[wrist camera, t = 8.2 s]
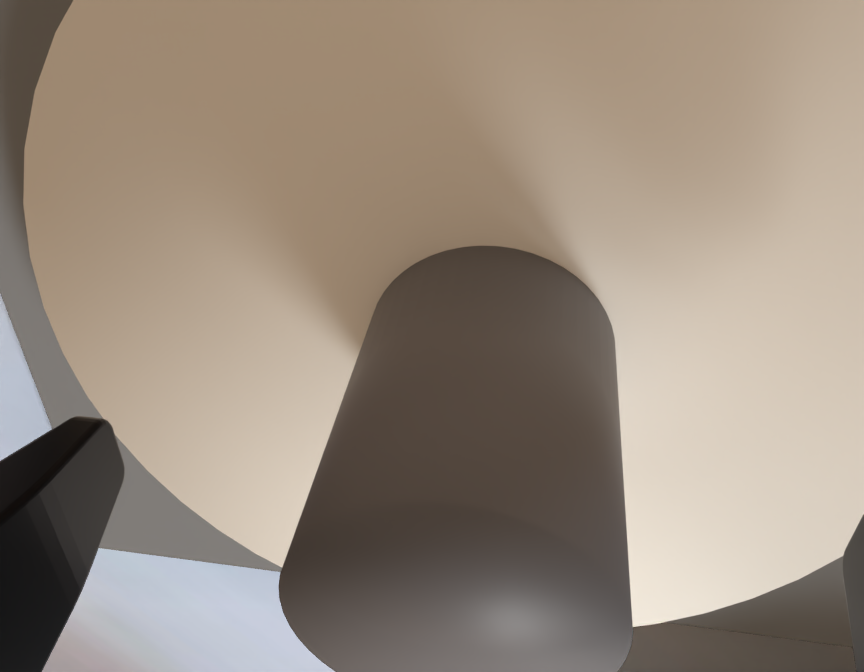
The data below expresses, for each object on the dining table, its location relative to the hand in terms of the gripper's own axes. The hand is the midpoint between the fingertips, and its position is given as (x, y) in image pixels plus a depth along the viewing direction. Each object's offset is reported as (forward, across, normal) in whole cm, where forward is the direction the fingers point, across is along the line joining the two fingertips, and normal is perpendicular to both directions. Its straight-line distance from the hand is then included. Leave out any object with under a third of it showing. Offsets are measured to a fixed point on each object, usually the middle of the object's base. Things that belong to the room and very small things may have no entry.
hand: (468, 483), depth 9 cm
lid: (+4, 0, 0) cm, 4 cm away
